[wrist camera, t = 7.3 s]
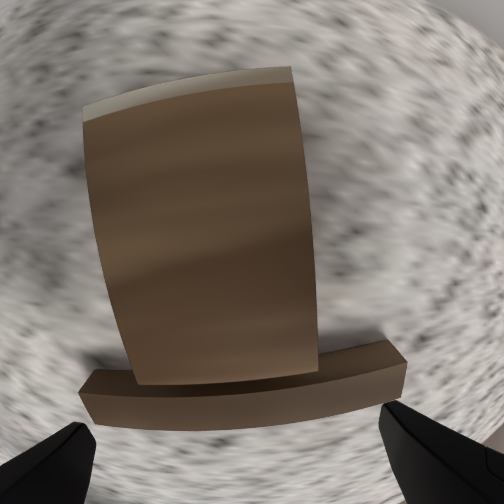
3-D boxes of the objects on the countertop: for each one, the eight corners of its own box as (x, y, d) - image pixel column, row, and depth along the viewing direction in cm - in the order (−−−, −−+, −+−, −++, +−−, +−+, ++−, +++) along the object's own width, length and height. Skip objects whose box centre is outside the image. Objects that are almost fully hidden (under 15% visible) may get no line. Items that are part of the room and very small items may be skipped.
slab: (318, 370, 9) (290, 66, 7) (138, 384, 9) (82, 107, 7) (302, 328, 12) (278, 96, 9) (159, 342, 12) (121, 123, 10)
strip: (384, 373, 12) (400, 397, 10) (108, 400, 12) (94, 424, 10) (388, 339, 12) (407, 361, 10) (94, 369, 12) (77, 392, 10)
